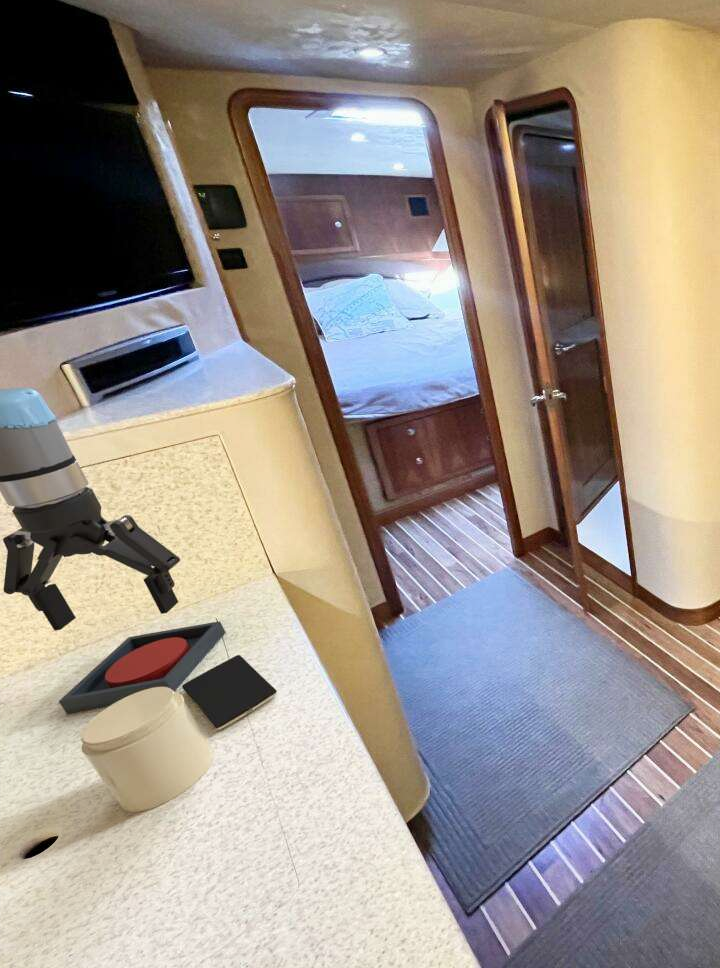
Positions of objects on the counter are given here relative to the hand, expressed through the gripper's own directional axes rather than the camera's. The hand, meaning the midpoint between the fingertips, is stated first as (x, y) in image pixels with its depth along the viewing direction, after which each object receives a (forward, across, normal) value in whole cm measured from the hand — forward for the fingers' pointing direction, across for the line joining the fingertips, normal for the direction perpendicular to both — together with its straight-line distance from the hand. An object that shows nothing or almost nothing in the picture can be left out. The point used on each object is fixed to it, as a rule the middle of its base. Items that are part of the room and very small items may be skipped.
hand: (118, 616), depth 83 cm
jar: (+11, -16, +23) cm, 30 cm away
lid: (+9, 0, 0) cm, 9 cm away
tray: (+11, 0, 0) cm, 11 cm away
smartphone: (+11, -17, +10) cm, 22 cm away
